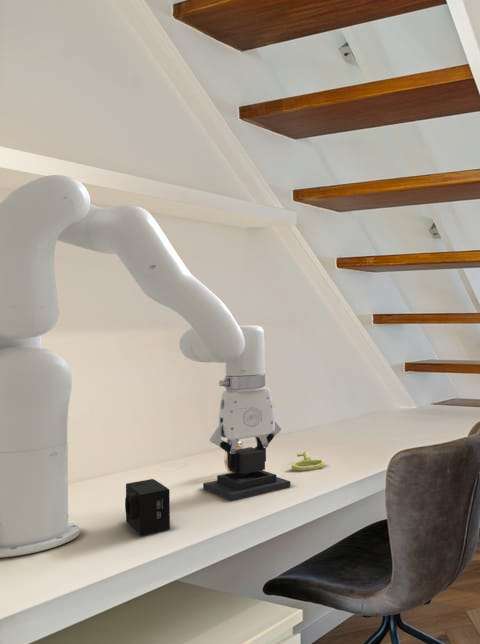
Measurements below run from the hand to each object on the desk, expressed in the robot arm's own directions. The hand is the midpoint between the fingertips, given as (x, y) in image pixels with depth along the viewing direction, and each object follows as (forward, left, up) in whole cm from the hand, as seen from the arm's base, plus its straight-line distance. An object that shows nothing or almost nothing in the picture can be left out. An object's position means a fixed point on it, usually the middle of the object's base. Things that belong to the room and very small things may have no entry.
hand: (247, 467), depth 125 cm
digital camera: (-22, -10, -4) cm, 25 cm away
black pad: (0, 0, 0) cm, 0 cm away
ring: (+4, +15, -4) cm, 16 cm away
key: (+18, +8, -4) cm, 20 cm away
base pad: (0, 0, -4) cm, 4 cm away
